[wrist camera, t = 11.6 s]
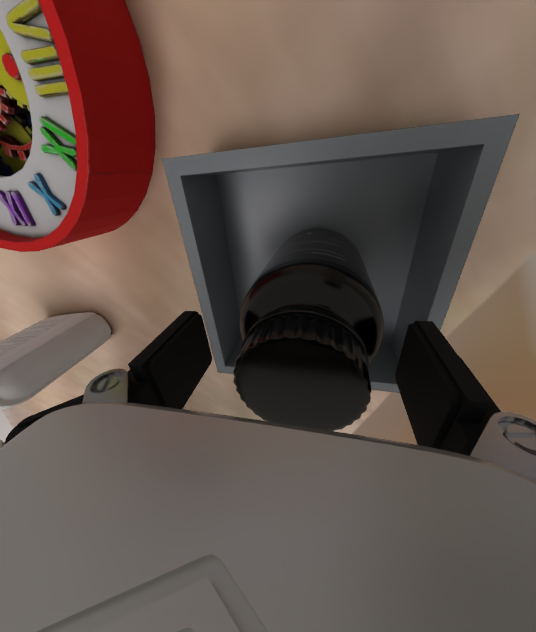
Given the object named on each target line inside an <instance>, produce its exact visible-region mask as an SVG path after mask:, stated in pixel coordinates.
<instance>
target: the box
mask: <svg viewBox="0 0 536 632" xmlns="http://www.w3.org/2000/svg"><path fill="white" fill-rule="evenodd" d="M518 117H519V114H515V115H507V116H499V117H491V118H484V119H476V120H468V121H460V122H452V123H444V124H436V125H428V126H420V127H412V128H404V129H396V130H388V131H380V132H373V133H365V134H357V135H349V136H341V137H333V138H325V139H317V140H309V141H301V142H293V143H285V144H277V145H269V146H262V147H254V148H246V149H238V150H230V151H222V152H214V153H206V154H198V155H190V156H182V157H174V158H166V159H162V161H163V164H164V168H165V172H166V176H167V180H168V183H169V187H170V191H171V195H172V199H173V203H174V206H175V210H176V214H177V218H178V222H179V225H180V229H181V233H182V237H183V241H184V245H185V248H186V252H187V256H188V260H189V264H190V268H191V271H192V275H193V279H194V283H195V287H196V290H197V294H198V298H199V302H200V306H201V310H202V313H203V317H204V321H205V325H206V329H207V332H208V336H209V340H210V344H211V348H212V352H213V355H214V359H215V363H216V367H217V371H218V372H220V373H229V374H234V373H233V371H234V368H235V366H236V360H237V358H238V356H239V354H240V352H241V350H242V345H243V340H242V337H241V332H240V324H239V318H240V310H241V306H242V303H243V301H244V298H245V296H246V295H247V293H248V291H249V289H250V288H251V286H252V285H253V284H254V282H255V281H256V279H257V278H258V277H259V275H260V274H261V272H262V271H263V270H264V268H265V267H266V265H267V264H268V263H269V261H270V260H271V258H272V257H273V256H274V254H275V253H276V251H277V250H278V249H279V248H280V246H281V245H282V244H283V243H284V242H285V241H286V240H287V239H289V238H290V237H291V236H293V235H295V234H296V233H298V232H301V231H304V230H307V229H313V228H324V229H329V230H333V231H336V232H338V233H340V234H342V235H344V236H345V237H346V238H348V239H349V240H350V241H351V242H352V243H353V244H354V246H355V247H356V248H357V250H358V251H359V254H360V256H361V258H362V260H363V263H364V265H365V268H366V270H367V273H368V275H369V278H370V281H371V283H372V286H373V288H374V291H375V293H376V296H377V299H378V301H379V304H380V307H381V311H382V315H383V320H384V334H383V339H382V343H381V346H380V348H379V351H378V353H377V354H376V356H375V358H374V359H373V361H372V362H371V363H370V364H369V369H368V372H369V377H370V382H371V390H379V391H388V392H397V393H400V391H399V388H398V385H397V382H396V378H395V373H396V369H397V365H398V362H399V358H400V354H401V351H402V347H403V343H404V339H405V336H406V332H407V328H408V325H409V324H413V323H414V321H432V322H433V323H434V324H435V325H436V326H437V328H438V329H439V331H440V329H441V327H442V324H443V321H444V318H445V316H446V313H447V310H448V308H449V305H450V302H451V299H452V297H453V294H454V291H455V289H456V286H457V283H458V280H459V278H460V275H461V272H462V269H463V267H464V264H465V261H466V259H467V256H468V253H469V250H470V248H471V245H472V242H473V240H474V237H475V234H476V231H477V229H478V226H479V223H480V221H481V218H482V215H483V212H484V210H485V207H486V204H487V201H488V199H489V196H490V193H491V191H492V188H493V185H494V182H495V180H496V177H497V174H498V172H499V169H500V166H501V163H502V161H503V158H504V155H505V152H506V150H507V147H508V144H509V142H510V139H511V136H512V133H513V131H514V128H515V125H516V123H517V120H518Z"/></svg>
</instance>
